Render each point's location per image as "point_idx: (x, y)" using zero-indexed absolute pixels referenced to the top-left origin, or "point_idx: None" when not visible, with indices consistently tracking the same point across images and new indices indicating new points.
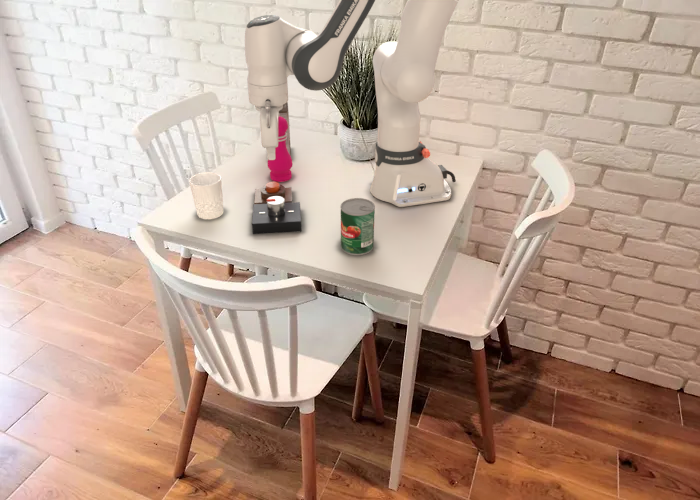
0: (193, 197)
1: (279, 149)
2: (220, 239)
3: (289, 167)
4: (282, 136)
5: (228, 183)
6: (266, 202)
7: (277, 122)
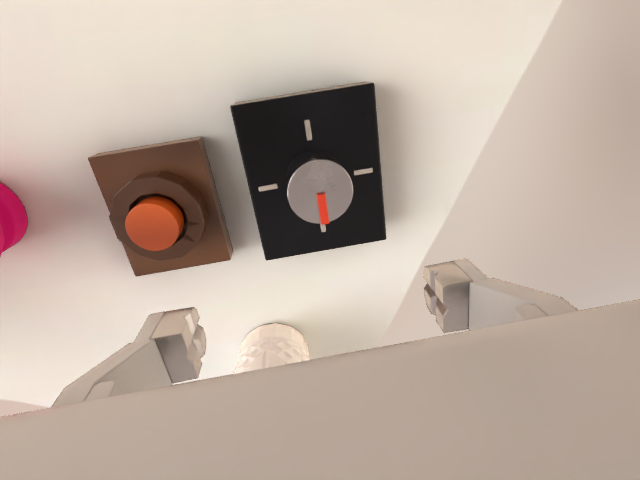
0: None
1: None
2: (399, 295)
3: None
4: None
5: (90, 354)
6: (221, 224)
7: (596, 477)
